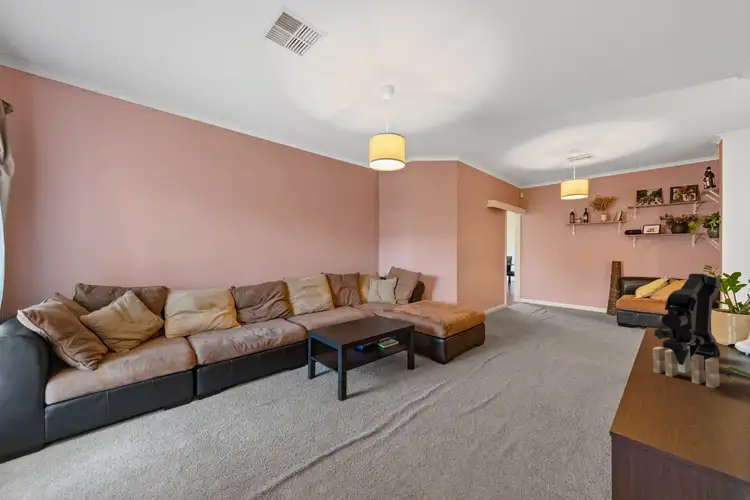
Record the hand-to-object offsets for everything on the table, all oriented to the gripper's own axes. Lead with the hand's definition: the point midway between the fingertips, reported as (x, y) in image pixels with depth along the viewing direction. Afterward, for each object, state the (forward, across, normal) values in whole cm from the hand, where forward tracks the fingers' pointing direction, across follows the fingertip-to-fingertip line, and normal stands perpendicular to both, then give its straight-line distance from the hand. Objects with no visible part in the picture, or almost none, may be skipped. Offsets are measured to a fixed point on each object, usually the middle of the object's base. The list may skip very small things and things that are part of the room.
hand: (684, 363), depth 124 cm
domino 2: (+6, 0, -4) cm, 7 cm away
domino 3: (+3, 0, 0) cm, 3 cm away
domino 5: (+6, 0, +8) cm, 10 cm away
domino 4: (+6, 0, +4) cm, 7 cm away
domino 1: (+6, 0, -8) cm, 10 cm away
